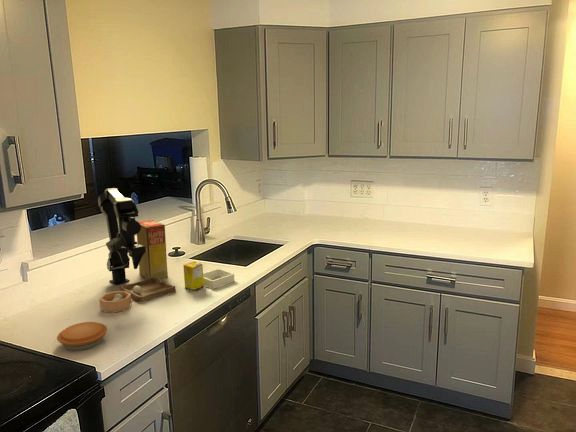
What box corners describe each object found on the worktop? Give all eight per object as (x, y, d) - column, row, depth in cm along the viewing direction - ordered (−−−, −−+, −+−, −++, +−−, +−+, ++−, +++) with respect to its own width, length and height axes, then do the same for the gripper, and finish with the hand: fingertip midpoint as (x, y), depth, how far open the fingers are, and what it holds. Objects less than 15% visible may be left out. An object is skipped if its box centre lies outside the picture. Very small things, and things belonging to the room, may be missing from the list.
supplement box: (195, 284, 210) (193, 261, 208) (204, 287, 206) (202, 263, 204) (184, 288, 206) (182, 264, 203) (193, 291, 202) (192, 267, 199)
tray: (120, 292, 202) (119, 287, 202) (154, 282, 214) (153, 277, 213) (141, 303, 191) (140, 297, 190) (175, 291, 202) (175, 286, 201)
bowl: (96, 307, 187) (95, 296, 186) (122, 299, 195) (121, 288, 194) (109, 315, 180) (108, 304, 179) (136, 306, 188) (135, 295, 187)
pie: (112, 330, 168) (111, 317, 167) (102, 351, 153) (101, 337, 152) (66, 333, 165) (64, 320, 164) (51, 356, 150) (49, 341, 149)
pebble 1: (111, 295, 188) (114, 298, 191) (113, 302, 186) (116, 305, 189) (119, 291, 188) (123, 294, 192) (122, 298, 187) (125, 301, 190)
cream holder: (196, 282, 212) (196, 275, 212) (219, 275, 221) (218, 268, 221) (212, 289, 205) (212, 281, 204) (235, 281, 213) (234, 273, 213)
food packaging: (169, 276, 220) (165, 224, 215) (149, 281, 215) (145, 227, 209) (157, 269, 231) (153, 219, 225) (138, 273, 225) (134, 222, 219)
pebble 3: (131, 294, 198) (130, 285, 198) (139, 291, 201) (138, 283, 200) (135, 296, 196) (135, 288, 195) (143, 293, 199) (142, 285, 198)
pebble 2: (111, 299, 187) (110, 298, 183) (120, 297, 188) (120, 295, 185) (113, 308, 186) (112, 307, 183) (122, 305, 187) (122, 304, 184)
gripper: (96, 229, 194) (100, 266, 197) (119, 237, 181) (122, 276, 184) (122, 225, 201) (125, 260, 205) (145, 232, 189) (148, 269, 192)
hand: (129, 266), depth 196 cm, fingers open, 9 cm apart
